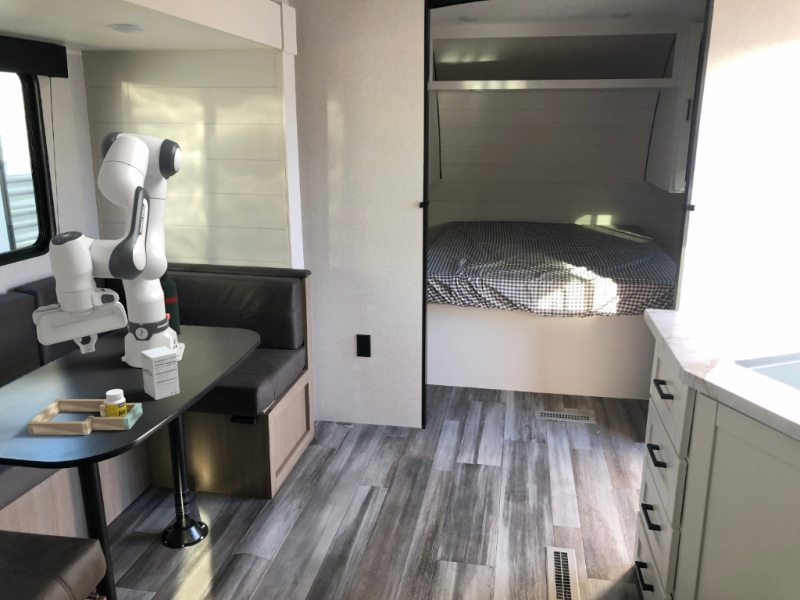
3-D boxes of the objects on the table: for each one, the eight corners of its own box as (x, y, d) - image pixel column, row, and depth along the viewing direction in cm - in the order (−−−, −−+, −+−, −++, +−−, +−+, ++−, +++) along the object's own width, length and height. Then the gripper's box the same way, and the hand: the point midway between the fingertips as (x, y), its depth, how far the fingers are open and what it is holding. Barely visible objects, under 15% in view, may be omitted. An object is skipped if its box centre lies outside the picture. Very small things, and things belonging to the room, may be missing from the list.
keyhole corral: (57, 409, 171) (56, 399, 170) (146, 409, 172) (144, 399, 171) (29, 434, 157) (27, 423, 156) (125, 434, 158) (124, 423, 157)
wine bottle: (155, 330, 236) (148, 250, 228) (183, 330, 237) (176, 250, 229) (148, 337, 229) (140, 255, 221) (177, 337, 229) (170, 255, 221)
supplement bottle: (122, 426, 162) (118, 396, 160) (104, 426, 162) (100, 395, 160) (131, 418, 166) (127, 388, 164) (113, 417, 167) (109, 387, 164)
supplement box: (144, 392, 182) (139, 351, 179) (168, 385, 187) (165, 345, 184) (155, 400, 177) (151, 358, 174) (180, 393, 182) (177, 351, 179)
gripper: (33, 311, 147) (45, 367, 151) (124, 293, 159) (133, 345, 163) (27, 305, 152) (39, 359, 156) (116, 288, 164) (125, 338, 168)
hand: (88, 352), depth 160 cm, fingers closed
